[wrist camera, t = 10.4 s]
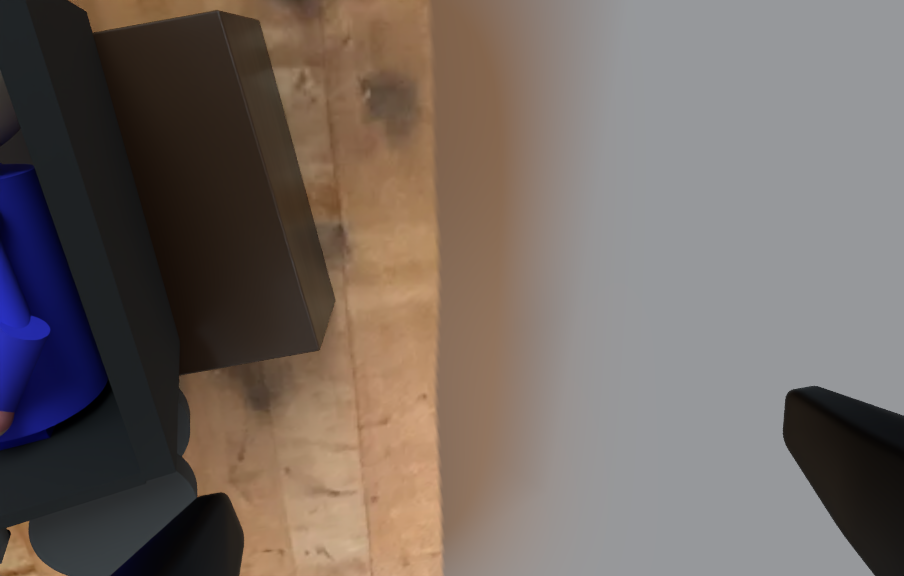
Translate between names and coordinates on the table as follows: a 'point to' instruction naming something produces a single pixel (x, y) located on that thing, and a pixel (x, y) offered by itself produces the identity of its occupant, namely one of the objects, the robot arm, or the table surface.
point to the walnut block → (216, 187)
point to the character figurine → (80, 313)
